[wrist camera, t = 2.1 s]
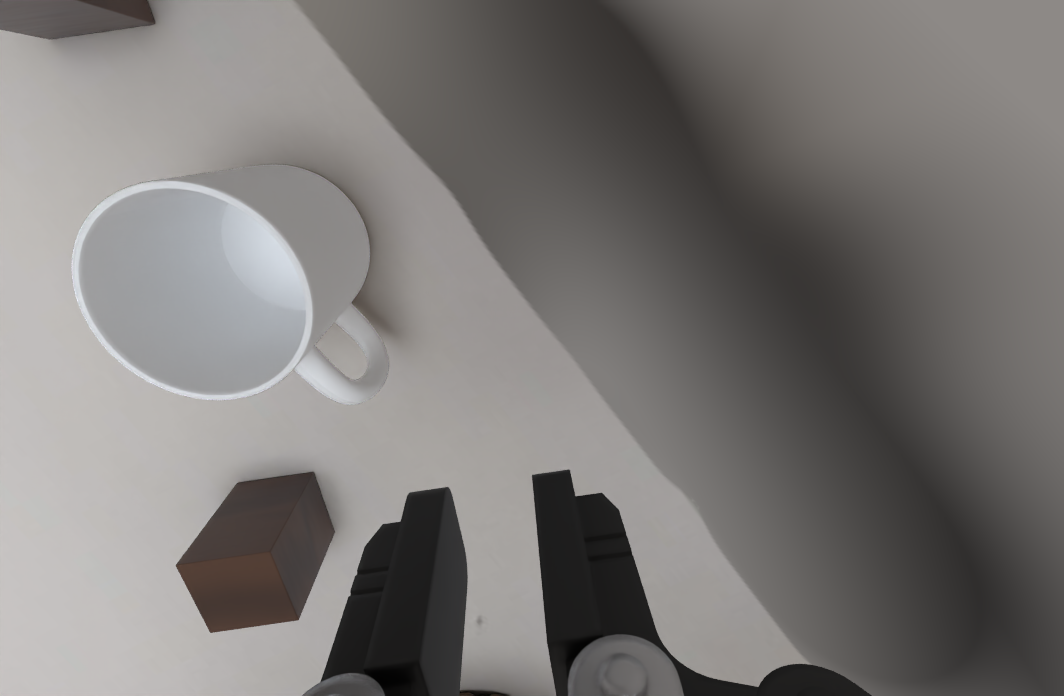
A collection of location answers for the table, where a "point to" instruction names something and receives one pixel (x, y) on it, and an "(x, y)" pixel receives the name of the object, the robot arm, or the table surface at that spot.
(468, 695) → the plant pot
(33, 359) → the table surface
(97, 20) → the block near
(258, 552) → the block far
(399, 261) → the table surface
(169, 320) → the cup
